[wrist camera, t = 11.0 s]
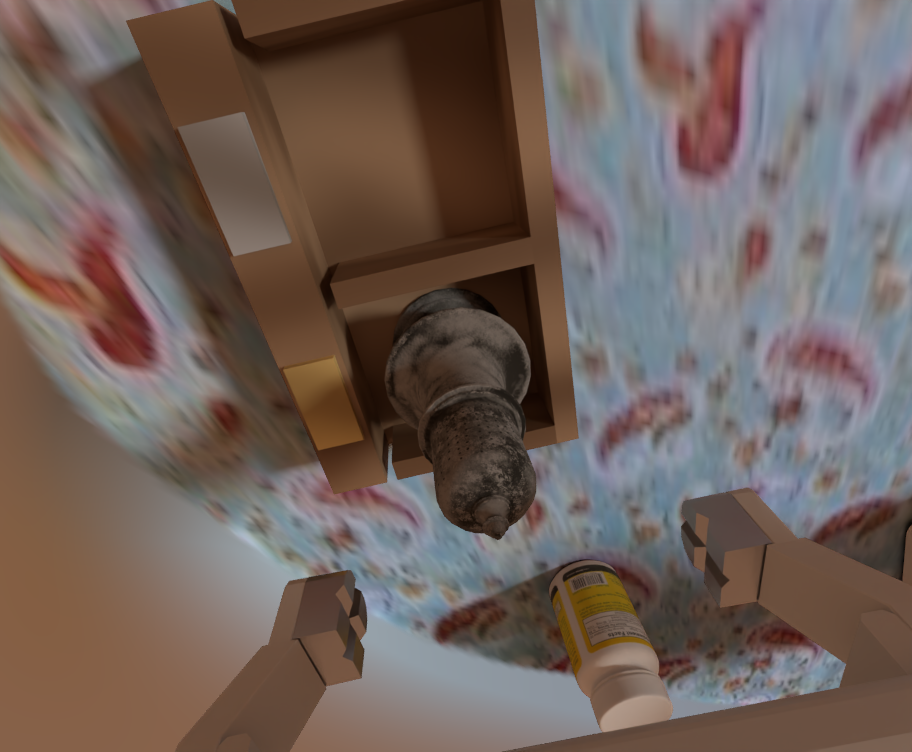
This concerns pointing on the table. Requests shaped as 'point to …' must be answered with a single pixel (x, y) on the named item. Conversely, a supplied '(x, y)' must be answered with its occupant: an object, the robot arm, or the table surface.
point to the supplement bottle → (608, 647)
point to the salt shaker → (465, 406)
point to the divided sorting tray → (372, 192)
